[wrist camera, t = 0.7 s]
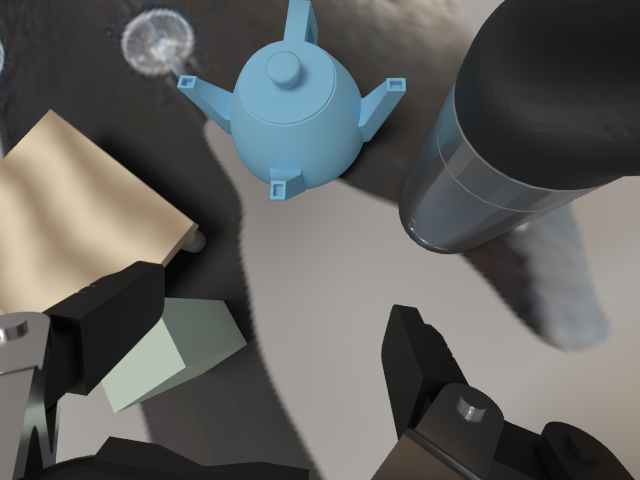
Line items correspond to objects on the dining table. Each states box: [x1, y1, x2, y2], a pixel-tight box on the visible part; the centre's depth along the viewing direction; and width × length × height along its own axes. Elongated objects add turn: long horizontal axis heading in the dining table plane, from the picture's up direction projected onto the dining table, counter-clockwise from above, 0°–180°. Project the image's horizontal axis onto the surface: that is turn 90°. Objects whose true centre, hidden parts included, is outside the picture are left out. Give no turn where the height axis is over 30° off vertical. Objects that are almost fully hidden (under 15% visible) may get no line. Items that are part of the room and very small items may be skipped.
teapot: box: [177, 0, 406, 200], centre depth 30 cm, size 15×15×11 cm
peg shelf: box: [0, 109, 206, 314], centre depth 31 cm, size 16×20×6 cm
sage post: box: [101, 298, 247, 413], centre depth 25 cm, size 5×5×12 cm
